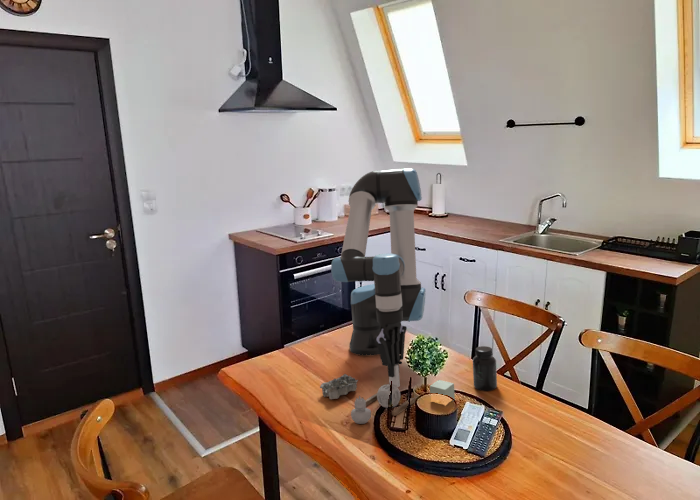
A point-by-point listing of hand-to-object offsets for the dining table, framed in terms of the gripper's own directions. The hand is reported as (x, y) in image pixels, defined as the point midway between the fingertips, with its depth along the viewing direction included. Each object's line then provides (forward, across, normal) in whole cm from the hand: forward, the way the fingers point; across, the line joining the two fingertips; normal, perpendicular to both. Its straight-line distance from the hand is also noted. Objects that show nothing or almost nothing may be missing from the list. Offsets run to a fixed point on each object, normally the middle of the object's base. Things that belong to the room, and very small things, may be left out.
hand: (394, 385), depth 146 cm
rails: (+4, +3, 0) cm, 5 cm away
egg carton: (+5, +5, -14) cm, 16 cm away
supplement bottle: (+5, -22, +18) cm, 28 cm away
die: (+5, +3, 0) cm, 6 cm away
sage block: (+5, -7, +12) cm, 14 cm away
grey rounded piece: (+5, +16, 0) cm, 16 cm away
